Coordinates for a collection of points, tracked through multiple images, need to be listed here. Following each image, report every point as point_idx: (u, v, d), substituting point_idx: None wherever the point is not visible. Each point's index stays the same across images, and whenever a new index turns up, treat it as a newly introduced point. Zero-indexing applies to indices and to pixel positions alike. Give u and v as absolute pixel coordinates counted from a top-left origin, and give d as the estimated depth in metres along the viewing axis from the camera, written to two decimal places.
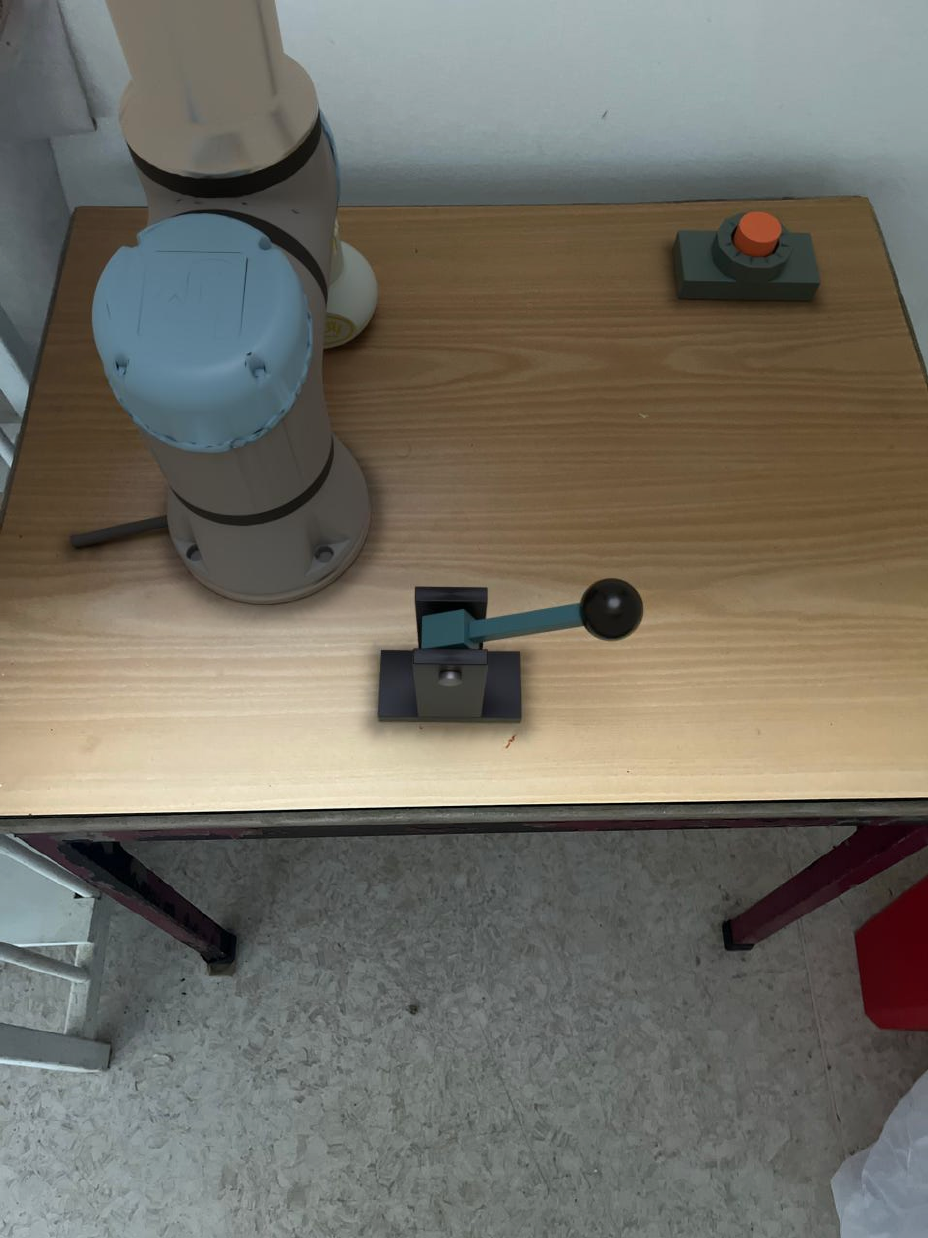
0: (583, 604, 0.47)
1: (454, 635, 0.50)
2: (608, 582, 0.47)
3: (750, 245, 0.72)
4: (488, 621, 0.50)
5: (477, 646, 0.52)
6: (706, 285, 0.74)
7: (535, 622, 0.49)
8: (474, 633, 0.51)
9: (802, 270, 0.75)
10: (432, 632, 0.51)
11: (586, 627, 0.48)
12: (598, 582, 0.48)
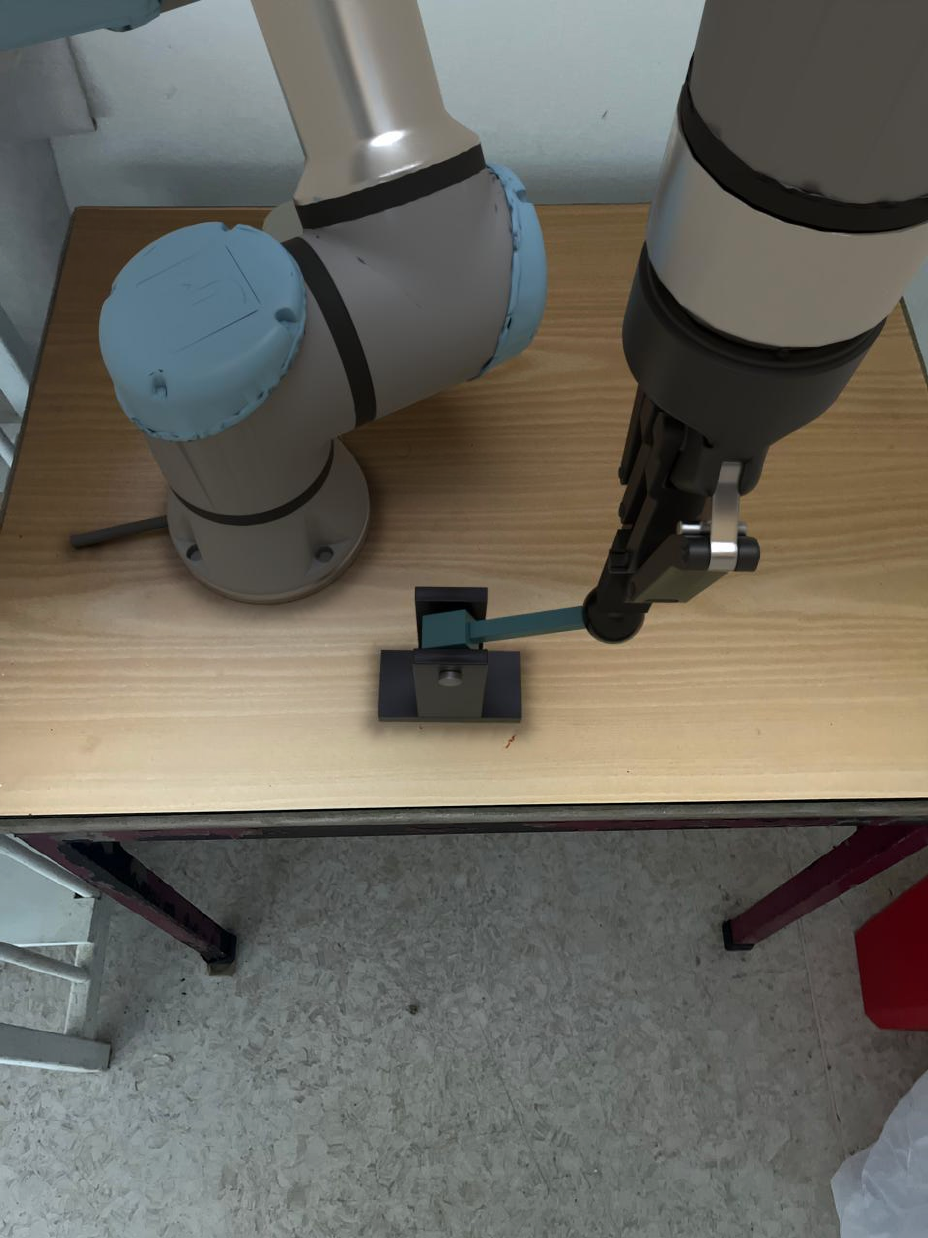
0: (586, 607, 0.48)
1: (455, 635, 0.50)
2: None
3: None
4: (489, 622, 0.51)
5: (477, 646, 0.52)
6: None
7: (537, 624, 0.49)
8: (475, 633, 0.51)
9: None
10: (433, 632, 0.51)
11: (588, 630, 0.48)
12: None
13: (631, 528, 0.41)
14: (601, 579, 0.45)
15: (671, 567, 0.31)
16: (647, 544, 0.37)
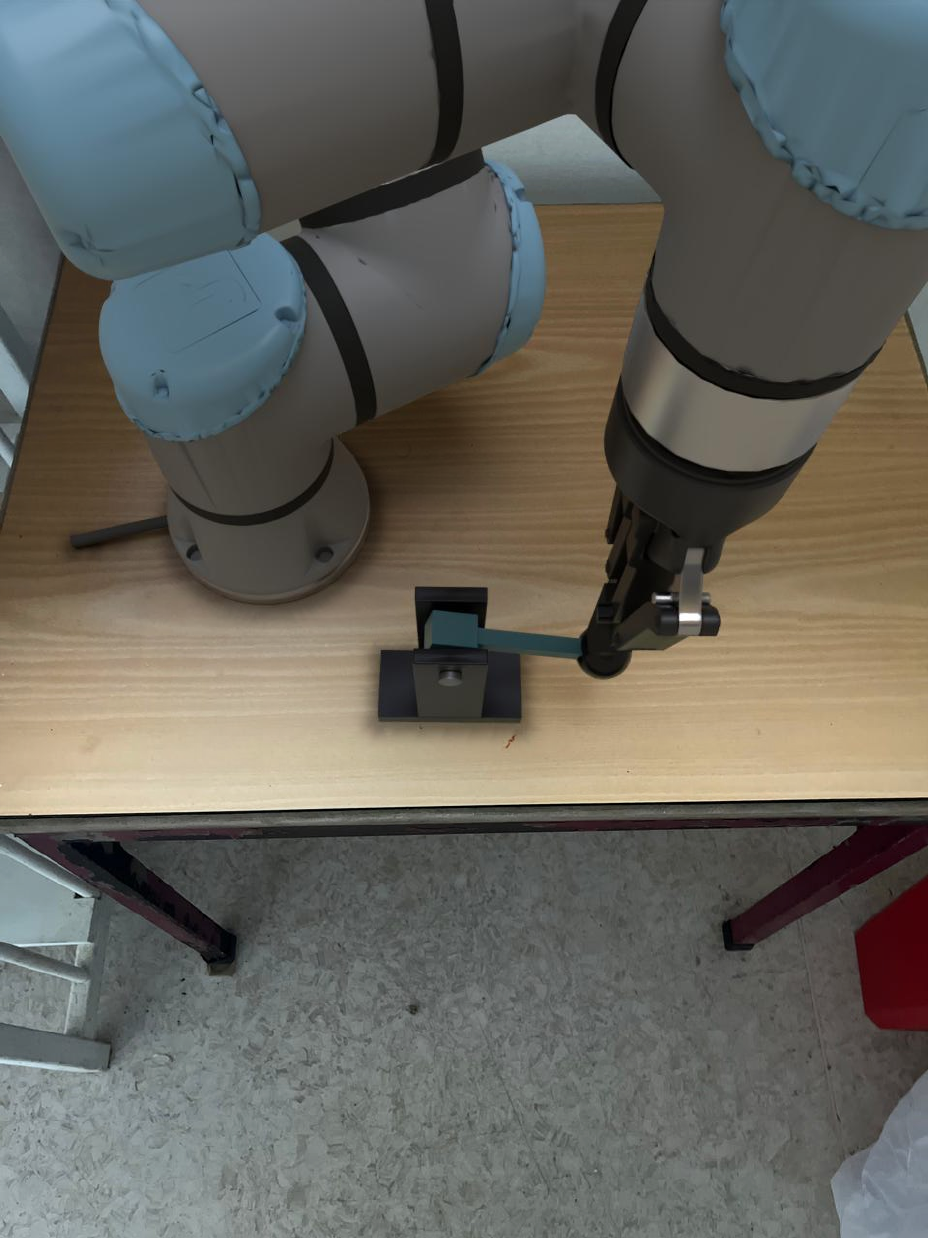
0: None
1: (468, 638, 0.51)
2: None
3: None
4: (495, 632, 0.52)
5: None
6: None
7: (541, 645, 0.52)
8: (480, 640, 0.52)
9: None
10: (444, 629, 0.50)
11: (587, 662, 0.53)
12: None
13: (616, 582, 0.46)
14: (591, 623, 0.51)
15: (647, 629, 0.37)
16: (629, 601, 0.42)
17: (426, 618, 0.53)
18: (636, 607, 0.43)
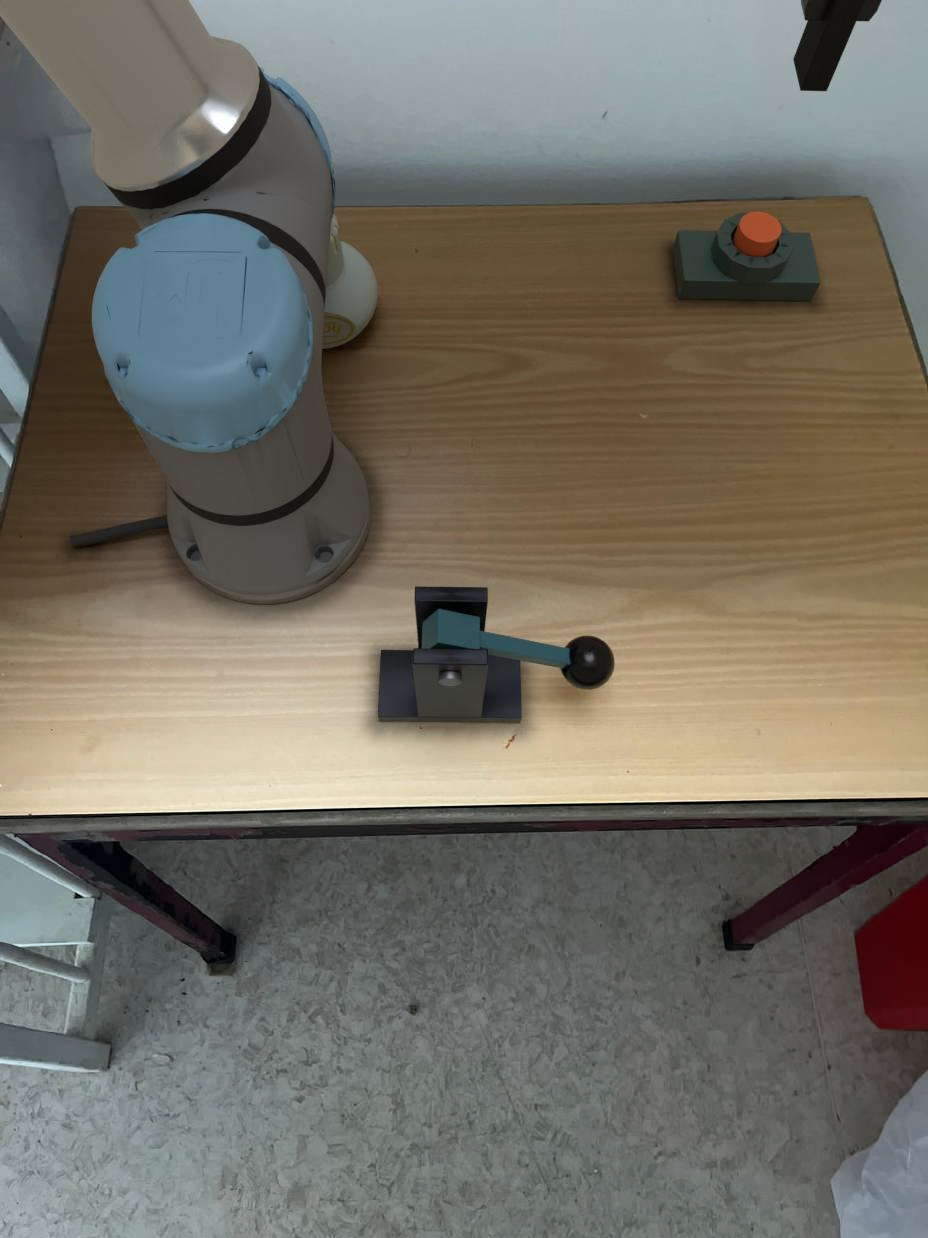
0: (582, 653, 0.54)
1: (471, 640, 0.51)
2: (603, 642, 0.55)
3: (750, 245, 0.72)
4: (493, 636, 0.53)
5: None
6: (706, 285, 0.74)
7: (534, 652, 0.54)
8: (480, 642, 0.52)
9: (802, 270, 0.75)
10: (449, 629, 0.50)
11: (574, 672, 0.54)
12: (593, 638, 0.55)
13: None
14: None
15: None
16: None
17: (426, 618, 0.53)
18: None
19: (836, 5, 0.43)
